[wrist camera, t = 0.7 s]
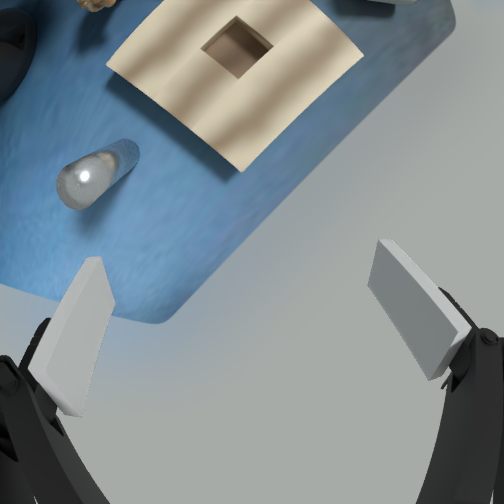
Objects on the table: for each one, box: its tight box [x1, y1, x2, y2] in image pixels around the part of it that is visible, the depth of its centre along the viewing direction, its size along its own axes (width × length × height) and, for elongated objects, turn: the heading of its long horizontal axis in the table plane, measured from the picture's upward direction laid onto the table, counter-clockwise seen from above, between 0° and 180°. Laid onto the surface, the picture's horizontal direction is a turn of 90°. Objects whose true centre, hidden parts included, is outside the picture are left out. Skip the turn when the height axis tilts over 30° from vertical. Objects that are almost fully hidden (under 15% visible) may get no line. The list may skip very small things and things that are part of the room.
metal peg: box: [57, 139, 140, 210], centre depth 26 cm, size 4×4×14 cm
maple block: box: [106, 0, 364, 172], centre depth 26 cm, size 20×20×4 cm
